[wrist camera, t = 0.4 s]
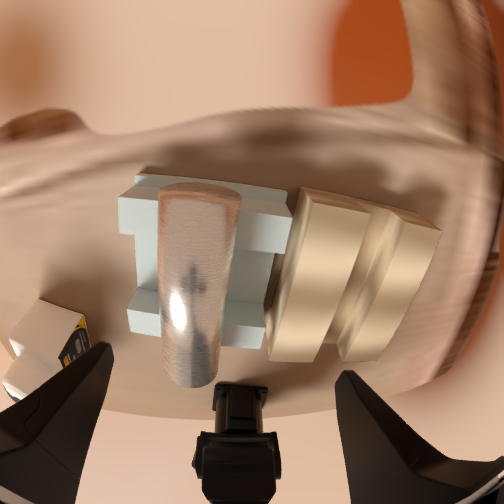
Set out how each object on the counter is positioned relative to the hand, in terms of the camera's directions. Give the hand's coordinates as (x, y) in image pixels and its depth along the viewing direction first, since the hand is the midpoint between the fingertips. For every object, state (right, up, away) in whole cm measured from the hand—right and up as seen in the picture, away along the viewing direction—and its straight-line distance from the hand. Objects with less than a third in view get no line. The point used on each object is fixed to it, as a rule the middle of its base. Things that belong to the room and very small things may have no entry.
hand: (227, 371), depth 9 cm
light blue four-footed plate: (-3, +4, +13) cm, 14 cm away
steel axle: (-3, +1, +8) cm, 9 cm away
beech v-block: (+9, +2, +14) cm, 17 cm away
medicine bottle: (-21, -5, +17) cm, 27 cm away
